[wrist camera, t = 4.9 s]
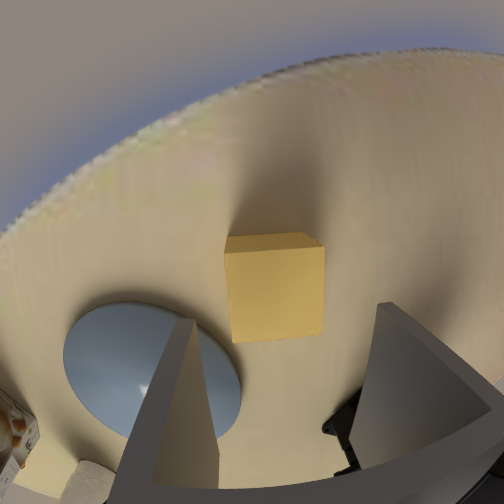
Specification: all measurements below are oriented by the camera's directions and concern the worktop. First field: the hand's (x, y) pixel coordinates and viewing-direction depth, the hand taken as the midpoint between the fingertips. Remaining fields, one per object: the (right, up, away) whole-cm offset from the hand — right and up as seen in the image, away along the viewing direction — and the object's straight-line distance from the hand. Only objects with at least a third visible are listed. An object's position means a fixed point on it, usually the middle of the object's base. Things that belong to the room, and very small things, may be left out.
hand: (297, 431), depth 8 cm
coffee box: (-35, -16, +14) cm, 41 cm away
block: (0, +5, +11) cm, 12 cm away
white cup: (-23, -25, +17) cm, 38 cm away
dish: (-10, -5, +13) cm, 17 cm away
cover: (0, 0, +2) cm, 2 cm away
